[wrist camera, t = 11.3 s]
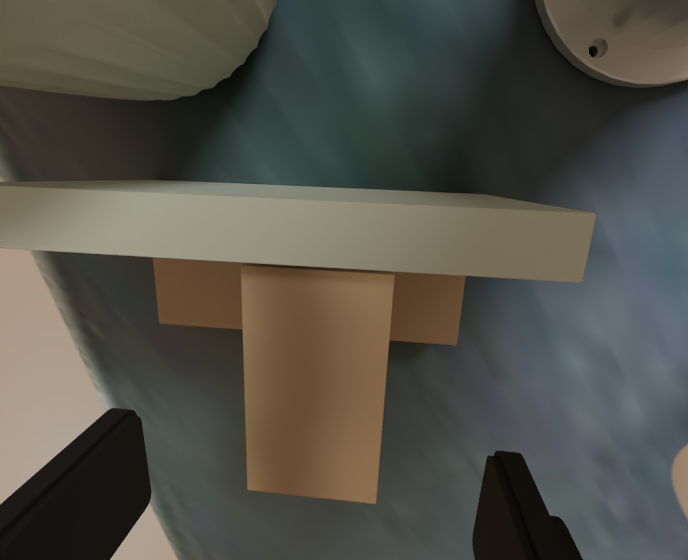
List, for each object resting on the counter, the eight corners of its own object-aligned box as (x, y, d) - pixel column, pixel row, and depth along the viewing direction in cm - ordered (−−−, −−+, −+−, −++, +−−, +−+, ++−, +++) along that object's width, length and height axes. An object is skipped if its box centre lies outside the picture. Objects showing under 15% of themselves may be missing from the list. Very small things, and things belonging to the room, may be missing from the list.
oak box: (388, 233, 21) (394, 275, 12) (376, 390, 23) (374, 516, 15) (297, 228, 21) (240, 265, 12) (296, 383, 24) (248, 502, 15)
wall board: (483, 194, 22) (596, 213, 11) (465, 329, 24) (542, 467, 13) (153, 179, 24) (-62, 183, 12) (165, 308, 26) (-7, 415, 14)
